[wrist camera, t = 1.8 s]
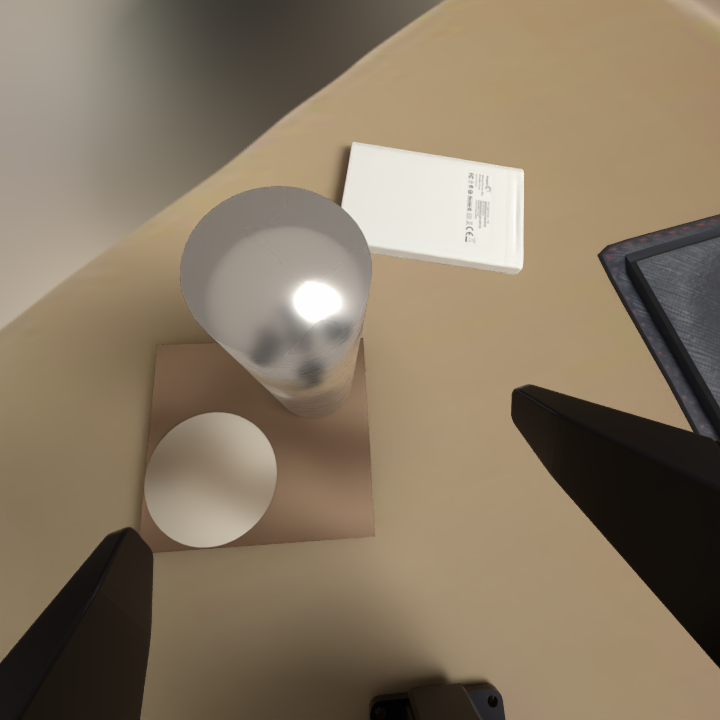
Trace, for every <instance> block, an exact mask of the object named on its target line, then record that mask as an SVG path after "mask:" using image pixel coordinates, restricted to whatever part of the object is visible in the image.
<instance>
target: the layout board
mask: <svg viewBox="0 0 720 720" xmlns="http://www.w3.org/2000/svg"><path fill="white" fill-rule="evenodd" d="M140 536H141V537H142V538H143V540H144V541H145V542H146V543H147V544H148V545H149V546H150V548H151V550H152V553H157V552H171V551H184V550H198V549H211V548H225V547H238V546H252V545H265V544H279V543H292V542H306V541H319V540H333V539H346V538H360V537H373V536H375V525H374V509H373V493H372V476H371V460H370V444H369V427H368V411H367V395H366V378H365V362H364V346H363V338H360V343H359V349H358V354H357V359H356V365H355V370H354V375H353V381H352V386H351V391H350V394H349V396H348V398H347V400H346V401H345V403H344V404H343V405H342V406H341V407H340V408H339V409H338V410H337V411H336V412H334V413H332V414H331V415H328V416H326V417H322V418H316V419H310V418H304V417H300V416H298V415H296V414H294V413H292V412H291V411H289V410H288V409H287V408H286V407H285V406H284V405H283V404H282V403H281V402H280V401H279V400H278V399H277V398H275V397H274V396H273V395H272V394H271V393H270V392H269V391H268V390H267V389H266V388H265V387H264V386H263V385H262V384H261V383H260V382H259V381H258V380H257V379H256V378H254V377H253V376H252V375H251V374H250V373H249V372H248V371H247V370H246V369H245V368H244V367H243V366H242V365H241V364H240V363H239V362H238V361H237V360H236V359H235V358H233V357H232V356H231V355H230V354H229V353H228V352H227V351H226V350H225V349H224V348H223V347H222V346H221V345H220V344H219V343H200V344H171V345H157V353H156V363H155V374H154V385H153V396H152V406H151V417H150V428H149V438H148V449H147V460H146V471H145V481H144V492H143V503H142V513H141V524H140Z"/></svg>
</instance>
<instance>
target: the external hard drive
mask: <svg viewBox="0 0 720 720" xmlns="http://www.w3.org/2000/svg"><path fill="white" fill-rule="evenodd" d="M341 208H343V209H344V210H345V211H346V212H347V213H348V214H349V215H350V216H351V217H352V218H353V219H354V221H355V222H356V223H357V224H358V226H359V228H360V229H361V231H362V232H363V234H364V237H365V239H366V241H367V244H368V247H369V250H370V253H372V254H379V255H385V256H392V257H399V258H406V259H412V260H419V261H426V262H432V263H440V264H446V265H453V266H460V267H466V268H473V269H480V270H487V271H493V272H500V273H506V274H513V275H516V274H517V273H518V272H519V271H520V270H521V269H522V266H523V215H524V172H523V169H518V168H512V167H504V166H499V165H493V164H487V163H481V162H475V161H469V160H463V159H457V158H451V157H445V156H438V155H432V154H426V153H420V152H414V151H408V150H402V149H395V148H389V147H383V146H376V145H370V144H363V143H357V142H352V146H351V152H350V158H349V164H348V170H347V175H346V181H345V187H344V193H343V198H342V204H341Z"/></svg>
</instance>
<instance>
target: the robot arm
mask: <svg viewBox="0 0 720 720" xmlns="http://www.w3.org/2000/svg"><path fill="white" fill-rule="evenodd" d="M511 416H512V420H513V422H514V424H515V425H516V427H517V428H518V430H519V431H520V433H521V434H522V435H523V437H524V438H525V440H526V441H527V442H528V444H529V445H530V447H531V448H532V449H533V451H534V452H535V454H536V455H537V457H538V458H539V459H540V461H541V462H542V464H543V465H544V466H545V468H546V469H547V470H548V472H549V473H550V474H551V476H552V477H553V478H554V479H555V480H556V482H557V483H558V484H559V485H560V486H561V487H562V489H563V490H564V491H565V492H566V493H567V494H568V495H569V497H570V498H571V499H572V500H573V501H574V502H575V503H576V505H577V506H578V507H579V508H580V509H581V510H582V511H583V513H584V514H585V515H586V516H587V517H588V518H589V519H590V521H591V522H592V523H593V524H594V525H595V526H596V528H597V529H598V530H599V531H600V532H601V533H602V534H603V536H604V537H605V538H606V539H607V540H608V541H609V542H610V544H611V545H612V546H613V547H614V548H615V549H616V550H617V552H618V553H619V554H620V555H621V556H622V557H623V558H624V560H625V561H626V562H627V563H628V564H629V565H630V566H631V568H632V569H633V570H634V571H635V572H636V573H637V574H638V576H639V577H640V578H641V579H642V580H643V581H644V582H645V584H646V585H647V586H648V587H649V588H650V589H651V591H652V592H653V593H654V594H655V595H656V596H657V597H658V599H659V600H660V601H661V602H662V603H663V604H664V605H665V607H666V608H667V609H668V610H669V611H670V612H671V613H672V615H673V616H674V617H675V618H676V619H677V620H678V621H679V623H680V624H681V625H682V626H683V627H684V628H685V629H686V631H687V632H688V633H689V634H690V635H691V636H692V637H693V639H694V640H695V641H696V642H697V643H698V644H699V645H700V647H701V648H702V649H703V650H704V651H705V652H706V654H707V655H708V656H709V657H710V658H711V659H712V660H713V662H714V663H715V664H716V665H717V666H718V667H719V668H720V440H713V439H712V438H710V437H707V436H704V435H700V434H697V433H694V432H690V431H687V430H683V429H680V428H677V427H673V426H670V425H666V424H663V423H660V422H656V421H653V420H650V419H646V418H643V417H639V416H636V415H633V414H629V413H626V412H623V411H619V410H616V409H612V408H609V407H606V406H602V405H599V404H596V403H592V402H589V401H585V400H582V399H579V398H575V397H572V396H568V395H565V394H562V393H558V392H555V391H552V390H548V389H545V388H541V387H538V386H535V385H531V384H527V385H524V386H521V387H518V388H516V389H514V390H513V392H512V403H511ZM152 591H153V553H152V550H151V548H150V546H149V545H148V544H147V543H146V542H145V541H144V540H143V538H142V537H141V536H140V535H139V534H138V533H137V532H136V531H135V530H134V529H133V528H131V527H126V528H123V529H121V530H118V531H115V532H112V533H110V534H108V535H107V536H106V537H105V538H104V539H103V541H102V542H101V543H100V544H99V545H98V547H97V548H96V549H95V550H94V551H93V553H92V554H91V555H90V556H89V557H88V559H87V560H86V561H85V562H84V563H83V565H82V566H81V567H80V568H79V569H78V571H77V572H76V573H75V574H74V575H73V577H72V578H71V579H70V580H69V581H68V583H67V584H66V585H65V586H64V587H63V589H62V590H61V591H60V592H59V593H58V595H57V596H56V597H55V598H54V599H53V601H52V602H51V603H50V604H49V605H48V607H47V608H46V609H45V610H44V611H43V613H42V614H41V615H40V616H39V617H38V619H37V620H36V621H35V622H34V623H33V625H32V626H31V627H30V628H29V629H28V631H27V632H26V633H25V634H24V635H23V637H22V638H21V639H20V640H19V641H18V643H17V644H16V645H15V646H14V647H13V649H12V650H11V651H10V652H9V653H8V655H7V656H6V657H5V658H4V659H3V661H2V662H1V663H0V720H140V715H141V707H142V700H143V692H144V685H145V677H146V670H147V662H148V655H149V647H150V638H151V624H152ZM491 695H494V700H493V701H492V702H488V698H489V696H491ZM379 707H382V708H384V712H383V713H382V714H380V715H379V714H377V713H376V712H375V711H376V710H377V708H379ZM369 714H370V720H505V714H504V706H503V700H502V696H501V694H500V693H499V692H498V690H497V689H496V687H495V686H493V685H491V684H484V685H475V686H465V687H463V686H462V685H461V684H459V683H458V684H449V685H439V686H430V687H420V688H413V689H412V690H411V691H410V692H409V693H399V694H390V695H380V696H376V697H374V698H373V699H372V701H371V703H370V707H369Z"/></svg>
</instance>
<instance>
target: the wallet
mask: <svg viewBox="0 0 720 720" xmlns="http://www.w3.org/2000/svg"><path fill="white" fill-rule="evenodd" d="M598 257H599V259H600V261H601V263H602V265H603V267H604V269H605V271H606V273H607V275H608V277H609V279H610V281H611V283H612V285H613V287H614V288H615V290H616V292H617V294H618V296H619V297H620V299H621V301H622V303H623V305H624V307H625V308H626V310H627V312H628V314H629V315H630V317H631V319H632V321H633V322H634V324H635V326H636V328H637V330H638V331H639V333H640V335H641V337H642V338H643V340H644V342H645V344H646V345H647V347H648V349H649V351H650V353H651V354H652V356H653V358H654V360H655V361H656V363H657V365H658V367H659V368H660V370H661V372H662V374H663V376H664V377H665V379H666V381H667V383H668V385H669V386H670V388H671V390H672V392H673V394H674V396H675V398H676V400H677V401H678V403H679V405H680V407H681V409H682V411H683V413H684V415H685V416H686V418H687V420H688V422H689V424H690V426H691V428H692V430H693V431H694V433H697V434H700V435H704V436H707V437H710V438H712V439H713V440H720V215H716V216H712V217H708V218H705V219H701V220H697V221H693V222H690V223H686V224H682V225H678V226H675V227H671V228H667V229H664V230H660V231H656V232H653V233H649V234H645V235H642V236H638V237H634V238H630V239H627V240H624V241H621V242H618V243H615V244H611V245H608V246H607V247H606V248H605V249H604V250H603V251H602V252H601V253H600V254H599V255H598Z"/></svg>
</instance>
